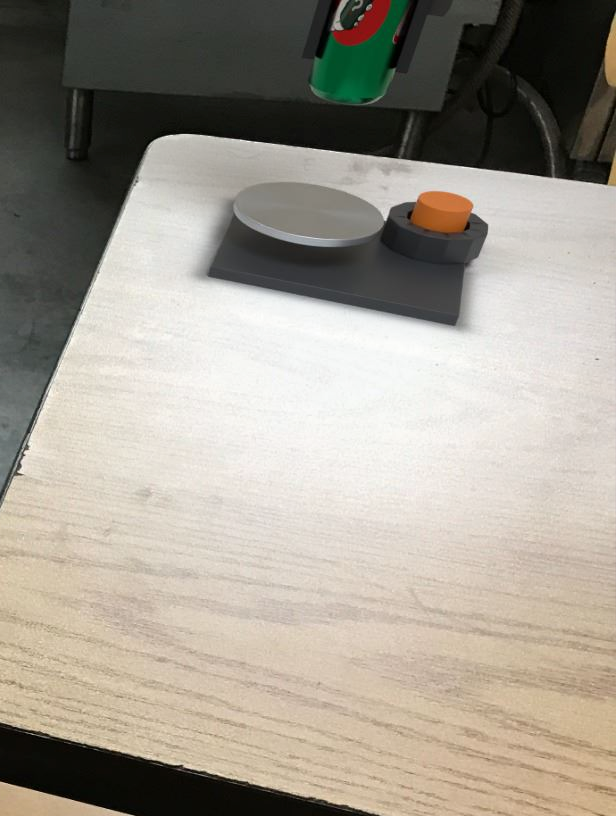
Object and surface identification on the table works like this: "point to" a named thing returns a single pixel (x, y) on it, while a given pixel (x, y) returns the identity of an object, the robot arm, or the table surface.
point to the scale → (361, 266)
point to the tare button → (441, 211)
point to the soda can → (360, 49)
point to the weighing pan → (308, 214)
